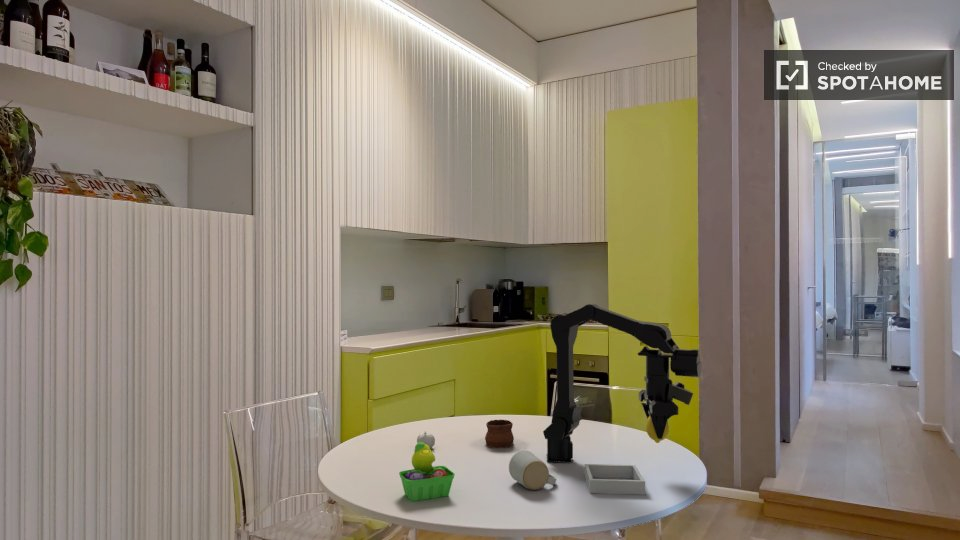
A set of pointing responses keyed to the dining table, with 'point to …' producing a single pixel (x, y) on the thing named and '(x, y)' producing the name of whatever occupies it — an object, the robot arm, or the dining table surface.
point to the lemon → (652, 433)
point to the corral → (614, 484)
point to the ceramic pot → (499, 434)
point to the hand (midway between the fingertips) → (657, 435)
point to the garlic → (426, 439)
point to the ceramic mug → (530, 470)
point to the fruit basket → (426, 476)
